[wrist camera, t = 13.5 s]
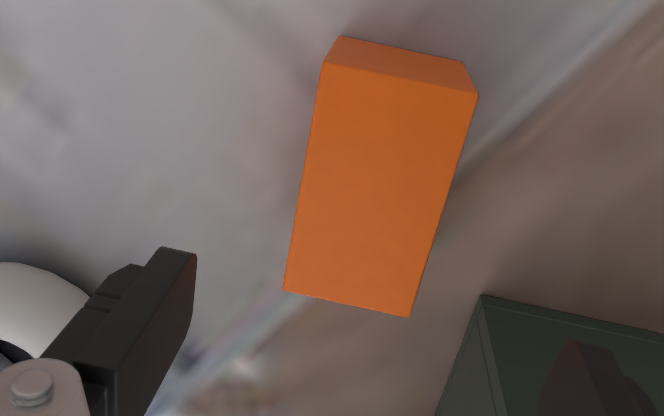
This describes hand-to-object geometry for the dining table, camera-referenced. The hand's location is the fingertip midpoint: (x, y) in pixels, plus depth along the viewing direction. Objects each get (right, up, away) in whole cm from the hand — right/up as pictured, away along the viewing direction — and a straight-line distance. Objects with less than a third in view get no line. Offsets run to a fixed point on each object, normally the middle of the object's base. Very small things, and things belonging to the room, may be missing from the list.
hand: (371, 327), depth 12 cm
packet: (+1, +5, +9) cm, 11 cm away
